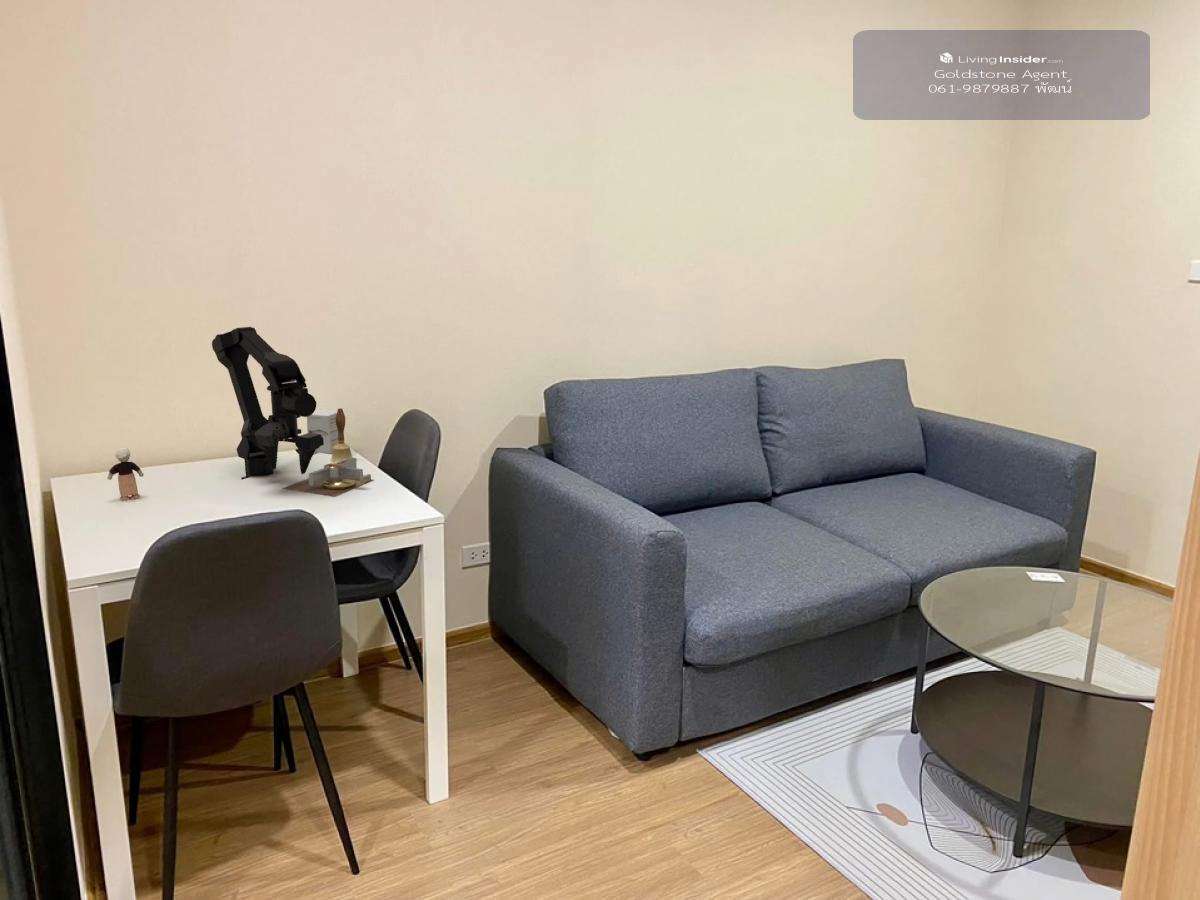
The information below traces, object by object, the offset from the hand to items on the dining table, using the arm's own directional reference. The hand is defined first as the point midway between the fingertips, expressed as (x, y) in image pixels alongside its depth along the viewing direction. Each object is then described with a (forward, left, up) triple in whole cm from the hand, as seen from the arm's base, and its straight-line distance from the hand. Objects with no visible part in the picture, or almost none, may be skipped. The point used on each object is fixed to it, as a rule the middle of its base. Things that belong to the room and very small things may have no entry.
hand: (288, 471), depth 231 cm
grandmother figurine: (-30, -22, -5) cm, 38 cm away
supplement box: (-14, +32, -5) cm, 35 cm away
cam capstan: (+13, +5, -3) cm, 14 cm away
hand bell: (-3, +25, -5) cm, 26 cm away
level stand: (+8, +5, -5) cm, 11 cm away
